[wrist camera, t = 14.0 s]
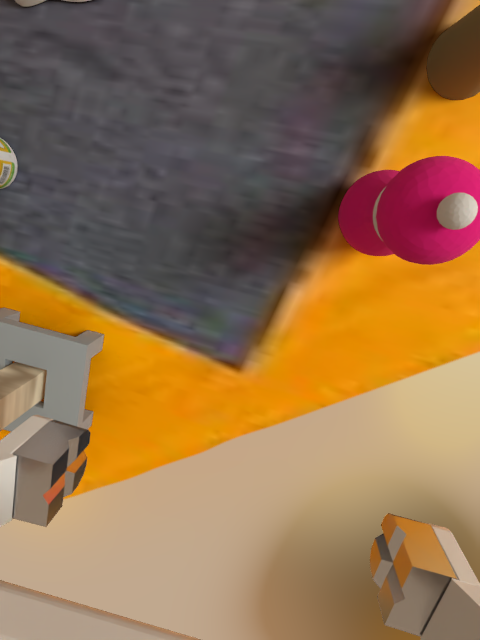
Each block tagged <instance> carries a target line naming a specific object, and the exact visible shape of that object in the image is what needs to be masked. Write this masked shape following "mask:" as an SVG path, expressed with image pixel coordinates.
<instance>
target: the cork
mask: <svg viewBox="0 0 480 640" xmlns="http://www.w3.org/2000/svg"><path fill="white" fill-rule="evenodd" d="M427 75H428V80H429V82H430V84H431V86H432V88H433V89H434V90H435V91H436V92H437V93H438V94H439V95H440V96H442V97H445V98H447V99H450V100H463V99H466V98H469V97H472V96H474V95H476V94H477V93H479V92H480V5H479V6H478V7H476V8H475V9H474V10H472V11H471V12H470V13H468V14H467V15H466V16H464V17H463V18H462V19H460V20H459V21H458V22H456V23H455V24H454V25H452V26H451V27H450V28H449V29H447V30H446V31H445V32H443V33H442V34H441V35H440V36H439V38H438V39H437V40H436V41H435V43H434V44H433V46H432V48H431V51H430V53H429V55H428V61H427Z"/></svg>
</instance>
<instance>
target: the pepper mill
mask: <svg viewBox="0 0 480 640" xmlns="http://www.w3.org/2000/svg"><path fill="white" fill-rule="evenodd" d="M338 222H339V226H340V229H341V232H342V234H343V236H344V238H345V239H346V241H347V242H348V243H349V244H350V245H351V246H352V247H353V248H354V249H356V250H357V251H359V252H361V253H364V254H367V255H373V256H387V255H391V254H395V255H397V256H398V257H400V258H402V259H404V260H406V261H409V262H413V263H418V264H438V263H444V262H447V261H450V260H453V259H455V258H457V257H459V256H461V255H462V254H464V253H465V252H467V251H468V250H470V249H471V248H472V247H473V246H474V245H475V244H476V243H477V242H478V241H479V240H480V170H479V169H477V168H476V167H475V166H473V165H472V164H470V163H469V162H467V161H465V160H462V159H459V158H454V157H449V156H435V157H429V158H425V159H422V160H418V161H416V162H414V163H412V164H410V165H408V166H407V167H405V168H404V169H402V170H401V171H395V170H382V171H376V172H373V173H370V174H367V175H365V176H363V177H361V178H360V179H359V180H357V181H356V182H355V183H354V184H353V185H352V186H351V187H350V188H349V190H348V191H347V192H346V194H345V196H344V198H343V200H342V202H341V205H340V208H339V213H338Z"/></svg>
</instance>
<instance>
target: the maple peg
mask: <svg viewBox="0 0 480 640" xmlns="http://www.w3.org/2000/svg"><path fill="white" fill-rule="evenodd" d="M46 375H47V370H44V369H40V368H37V367H33V366H29V365H26V364H22V363H18V362H14V363H12V364H10V365H9V366H7V367H5V368H3V369H1V370H0V431H1V430H2V429H4V428H5V427H6V426H8V425H9V424H10V423H12V422H13V421H14V420H16V419H17V418H18V417H20V416H21V415H22V414H24V413H25V412H26V411H28V410H29V409H30V408H31V407H33V406H34V405H35V404H37V403H38V402H39V401H41V400H42V399H43V398H44V396H45V386H46Z"/></svg>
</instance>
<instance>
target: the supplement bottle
mask: <svg viewBox="0 0 480 640" xmlns="http://www.w3.org/2000/svg"><path fill="white" fill-rule="evenodd" d="M17 167H18V166H17V159H16V156H15V154H14V152H13V150H12V148H11V147H10V146H9V145H8V144H7V143H6V142H5V141H4V140H3V139H1V138H0V189H3V188H5V187H7V186H9V185H10V184H11V183H12V182H13V181H14V179H15V177H16V174H17Z"/></svg>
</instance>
